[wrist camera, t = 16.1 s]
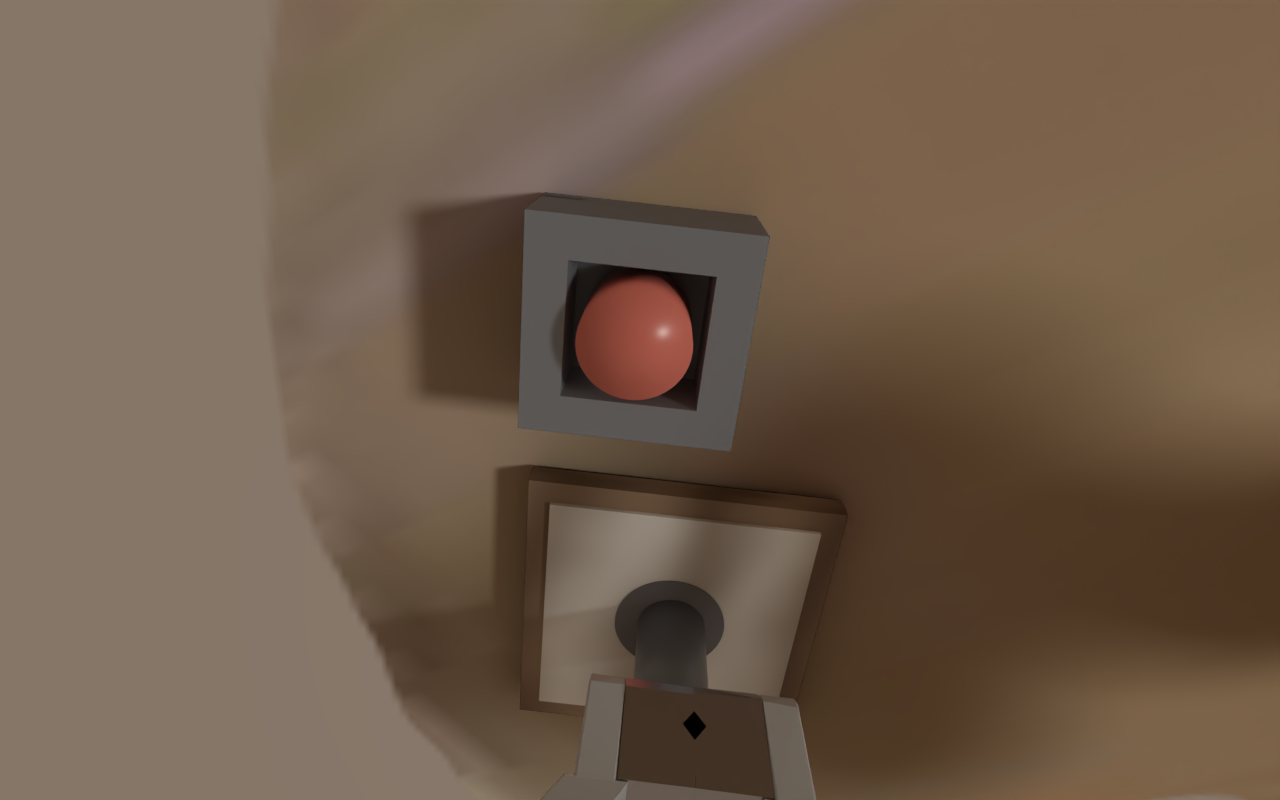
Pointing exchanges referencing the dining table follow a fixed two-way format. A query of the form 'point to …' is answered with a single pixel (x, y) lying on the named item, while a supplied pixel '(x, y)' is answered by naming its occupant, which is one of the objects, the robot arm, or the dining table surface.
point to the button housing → (649, 239)
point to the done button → (635, 334)
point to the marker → (671, 645)
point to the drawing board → (670, 580)
